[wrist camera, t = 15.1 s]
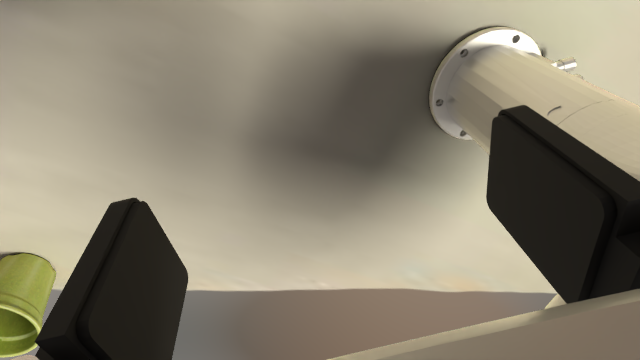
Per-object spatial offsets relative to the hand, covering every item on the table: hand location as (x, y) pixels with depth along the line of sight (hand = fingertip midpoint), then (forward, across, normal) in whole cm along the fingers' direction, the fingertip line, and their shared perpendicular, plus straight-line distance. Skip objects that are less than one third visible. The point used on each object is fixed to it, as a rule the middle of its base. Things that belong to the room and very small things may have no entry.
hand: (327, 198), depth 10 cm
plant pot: (+29, +38, +22) cm, 52 cm away
